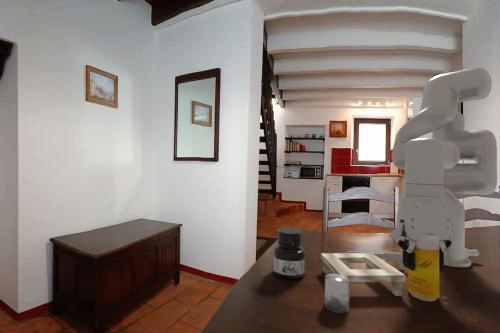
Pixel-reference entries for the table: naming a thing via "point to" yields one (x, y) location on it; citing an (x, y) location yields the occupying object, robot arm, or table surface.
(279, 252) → the ink bottle
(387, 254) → the caliper
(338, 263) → the birch stand
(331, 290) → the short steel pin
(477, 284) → the table surface
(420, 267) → the beer can
